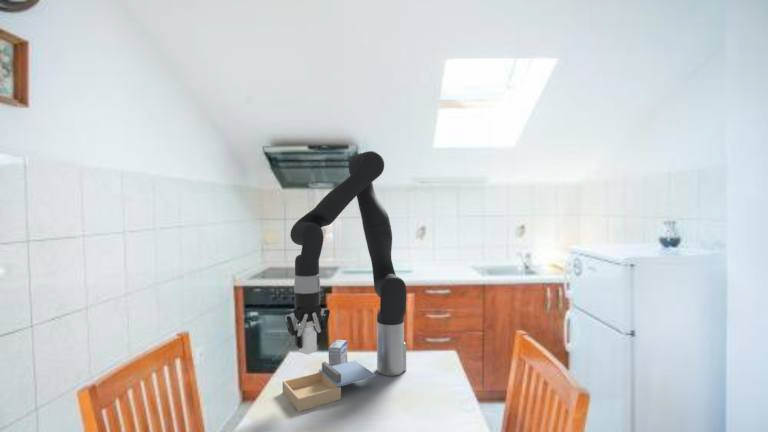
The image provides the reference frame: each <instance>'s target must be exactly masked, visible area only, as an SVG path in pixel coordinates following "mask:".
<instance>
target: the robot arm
mask: <svg viewBox="0 0 768 432" xmlns="http://www.w3.org/2000/svg"><path fill="white" fill-rule="evenodd" d="M349 159H350V160H349V161H348V173H349V176H348V177H347V178H346V179H345V180H344V181H342V182H341V183H340V184H338V185H337V186H335V187H334V188H333V189H332V190H330V191H329V192H328V193H327V194H326V195H324V197H322V199H321V200H320V201H319V202H318V204H317V205H316V206H315V207H314V208H313V209H312V210H310V211H309V212H307V213H306V214H305V215H304V216H302V217H300V218H299V219H298V220H297V221H296V222H295V223H294V224H293V226H292V228H291V230H290V234H289V235H290V239H291V241H292V242H293V243H294V244H295V245H299V246H301V253H300V254H298V255H296V257H295V259H294V282H293V283H294V284H293V286H294V289H293V291H294V295H293V296H294V299H293V300H294V302H293V303H294V310H293V312H292V313H289V314H285V315H284V316H283V317H284V318H283V319H284V321H285V325H286V329H287V332H288V333H289V334H290V335H291V336H292V337H293V336H294V340H295V341H294V344H295V345H294V346H295V347H296V348H298V350H299V349H301V348H302V336H301V333H302V330H303V329H304V326H305V323H306V322H309V321H313V330H315V331H316V332H317V346H319V343H321V332H322V331H323V330H326V329H327V326H328V321H329V319H330V313H331V310H330V309H328V308H326V307H324V308H322V307H321V279H320V258H321V253H322V250H323V244H324V232H323V229H322V228H324V227H328V226H330V225H332V224H333V222H334V221H336V219H337V218H338V217H339V216H340V214H342V212H343V211H344V209H346V208H347V206H349V204H351V202H352V201H353V200H354V199H355V198H356V199H357V204H358V208H359V213H360V217H361V223H362V227H363V233H364V237H365V241H366V245H367V250H368V254H369V257H370V261H371V268H372V276H373V277H372V278H373V287H374V288H373V289H374V291H375V293H376V295H377V296H378V297H379V298H380V299H379V301H380V302H379V303H380V304H379V311H378V312H377V315H376V371H377V372H378V374H380V375H384V376H389V377H393V376H398V375H401V374H403V373H404V372H405V371H407V343H406V342H405V328H404V327H405V315H406V312H407V285H406V283H405V281H404V280H403V279H402V278H401V277H399V276H398V275H396V272H395V269H394V265H393V264H394V263H393V260H392V247H393V232H392V226H391V220H390V217H389V214H388V212H387V210H386V209H385V207H384V206H383V204H382V203H381V202H380V199H379V198H378V197H377V195H376V192H375V190H374V184H373V182H374V181H376V180H377V179H378V178H379V177H380V176H381V175H382V174H383V172H384V169H385V160H384V158H383V156H382V155H381V153H379V152H377V151H373V150H368V151H364V152H361V153H357V154H355V155H353V156H351V157H350V158H349ZM319 316H321V317H320V321H319V319H318V318H319ZM294 318H295V319H296V323H295V327H294V324H293V322H294Z"/></svg>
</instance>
